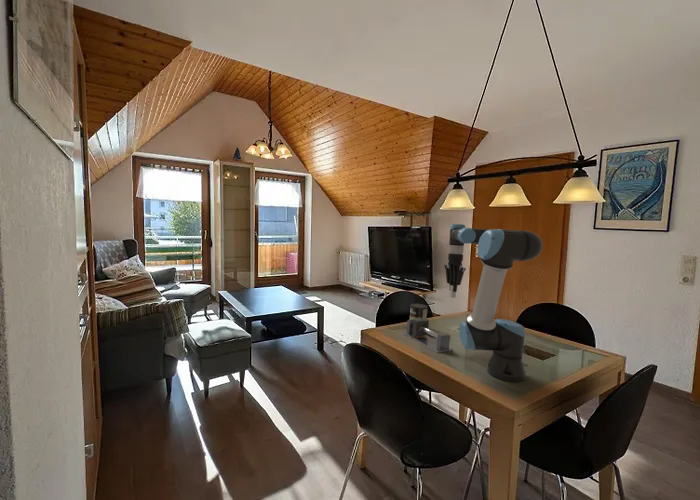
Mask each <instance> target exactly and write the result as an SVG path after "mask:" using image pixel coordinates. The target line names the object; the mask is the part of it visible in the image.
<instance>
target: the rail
mask: <svg viewBox="0 0 700 500" xmlns="http://www.w3.org/2000/svg"><path fill="white" fill-rule="evenodd" d="M414 320H416V319H414ZM419 330H422V331H424V332H426V333H428V335H430V336H432V337H434V338H435V339H434V338H432V337H430V336H428V335H424V336H416V337H415V336H414V335H412V332H413V320H410V319H407V322H406V331H403V332H402V334H403V335H404V334H405V335H404V336H406V335H407V337H409V339H412V340H413V339H414V341H415V340H416V342H417V343H419V344H421V345H423V346H424V347H426V348H428V349H429V350H432V351H433V352H435V353H437V354H440V353H447V352H452V351H454V349H453V348H452V347H450V343H451V342H450V341H451V335H450V334H449V333H441V334H440V333H438V332H436V331H434V330H431V329H429V327H428V328H425V327H423V326H422V325H419Z"/></svg>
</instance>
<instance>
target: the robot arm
mask: <svg viewBox="0 0 700 500" xmlns="http://www.w3.org/2000/svg"><path fill="white" fill-rule="evenodd" d="M448 240H449V241H448V242H449V243H448V255H447V260H448V263H447V264H444V268H445V277H446V283H447V284H449V291H450V292H449V298H451V299H452V298H454V299H455V298H456V293H457V291H458V286H460V285H461V284H462V280H463V277H464V272H465V271H466V269H467V268H466V267H464V266H463V261H464V250H465V249H464V247H465V244H467V245H468V244H472V245H473V244H475V245H477V256H478V258H479V259H480V262H481V264H482V266H483V267H482V271H481V274H480V278H479V283H478V288H477V291H476V295H475V300H474V304H473V308H472V313H470V314H467V317H466V321H465V320H464V321H461V322H460V323H459V325H458V326H459V328H458V329H459V331H458V332H459V338H460V342H461V345H462V346H463V348H465V349H466V350H471V351H489V352H490V351H491V352H492V355H491V356H490V358H489V360H488V363H487V365H486V371H487V372H486V373H488V374H490V375H491V376H492V377H494V378H496V379H500V380H501V381H502V380H503V381H505V382H514V383H517V382H523V381H524V380H525V379H526V370H525V367H524V362H523V355H524V353H523V352H524V344H525V343H524V342H525V337H526V336H525V334H526V332H525V330H526V329H525V327H524V325H522V324H520V323H518V322H516V321H512V320H509V319H504V318H496V319H495V320H494V318H495V315H496V311H497V307H498V304H499V302H500V301H499V300H500V296H501V293H502V290H503V285H504V282H505V278H506V275H507V272H508V270H511V269H513V265H514V262H527V261H531V260H534V259H536V258H537V257H539V256H540V255H541V253H542V252H543V247H544V243H543V240H542V238H541V237H540V236H539V235H538V233H537V234H536V233H535V232H533V231H530V230H529V231H528V230H516V229H501V228H497V229H494V228H493V229H492V228H490V229H489V228H488V229H487V228H471V227H466V225H465V224H463V223H452V224H451V225H450V229H449V239H448Z"/></svg>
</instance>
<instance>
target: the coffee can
mask: <svg viewBox="0 0 700 500" xmlns="http://www.w3.org/2000/svg"><path fill="white" fill-rule="evenodd" d="M409 309H410V311H409V313H410V314H409V320H414V319H416V320H419V319H427V318H428V317H427V316H428V305H426V304H423V303H411V304H410V307H409ZM427 320H428V319H427Z"/></svg>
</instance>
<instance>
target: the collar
mask: <svg viewBox="0 0 700 500" xmlns="http://www.w3.org/2000/svg"><path fill="white" fill-rule="evenodd" d="M429 323H430V320H429V319H419V320H413V332H412V335H414V336H415V337H416V336H424V335H427V336H428V335H429V334H428V333H426V332H424V331H422V330H419V325H422V326H423V327H425V328H428V329H429V325H430V324H429Z"/></svg>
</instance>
